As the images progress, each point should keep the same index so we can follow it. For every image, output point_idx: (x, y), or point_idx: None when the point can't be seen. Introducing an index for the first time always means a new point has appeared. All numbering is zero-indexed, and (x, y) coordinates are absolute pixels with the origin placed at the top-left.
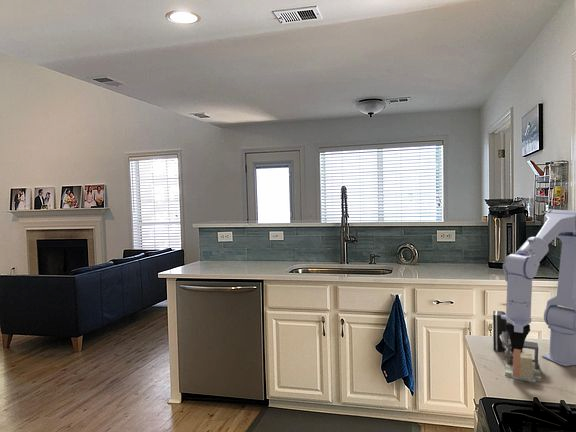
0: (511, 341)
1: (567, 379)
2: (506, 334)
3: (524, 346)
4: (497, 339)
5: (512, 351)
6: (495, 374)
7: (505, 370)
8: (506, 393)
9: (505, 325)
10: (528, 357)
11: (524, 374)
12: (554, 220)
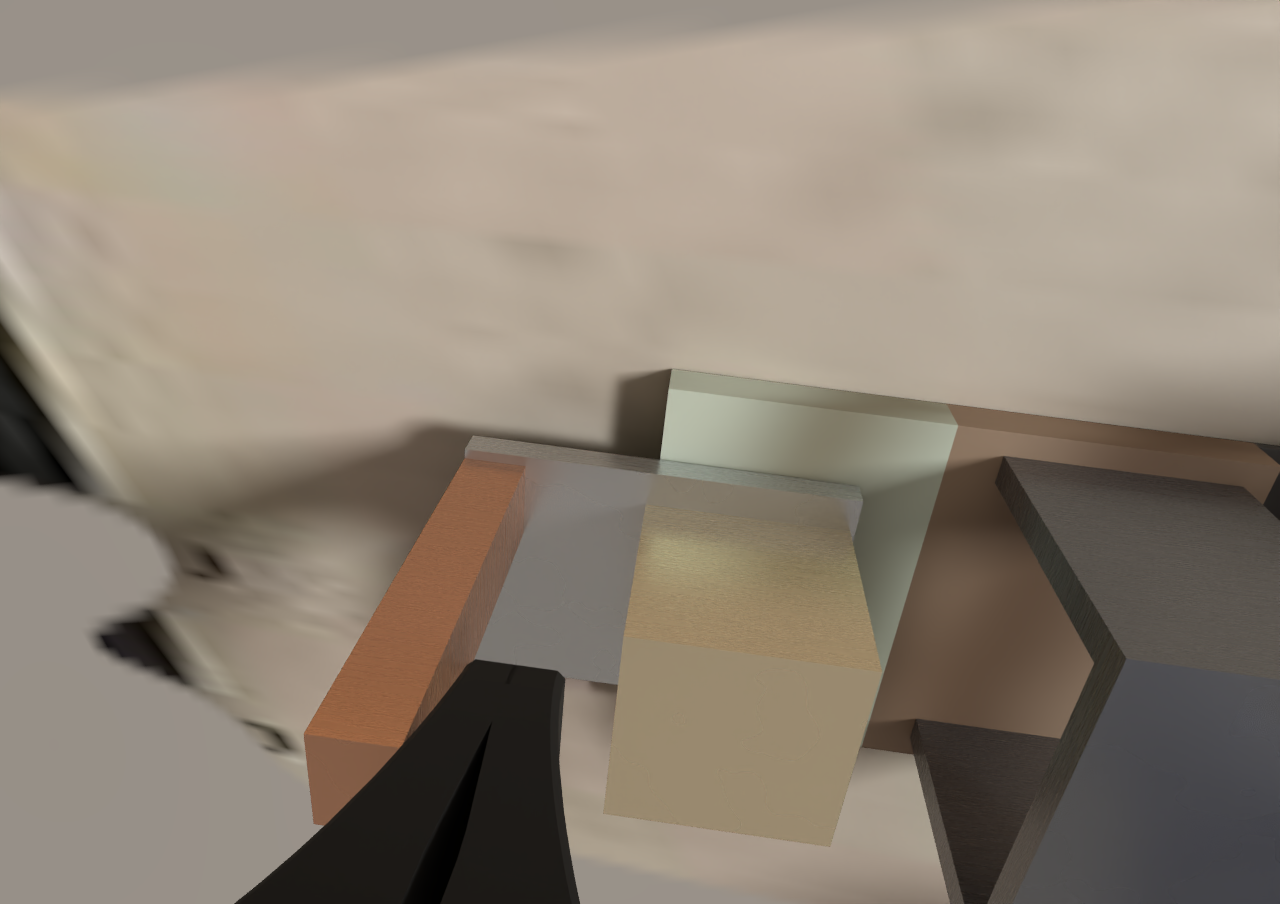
0: (350, 814)
1: (785, 879)
2: None
3: (1028, 852)
4: None
5: (470, 664)
6: (679, 251)
7: (732, 398)
8: (129, 313)
9: None
10: (655, 785)
11: (577, 590)
12: None
